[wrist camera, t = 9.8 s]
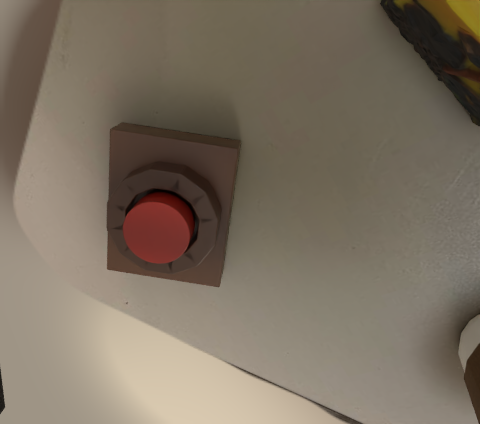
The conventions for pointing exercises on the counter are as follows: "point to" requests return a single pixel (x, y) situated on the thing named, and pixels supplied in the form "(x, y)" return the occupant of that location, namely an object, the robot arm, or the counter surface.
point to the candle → (445, 42)
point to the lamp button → (159, 227)
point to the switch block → (179, 184)
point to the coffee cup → (471, 360)
